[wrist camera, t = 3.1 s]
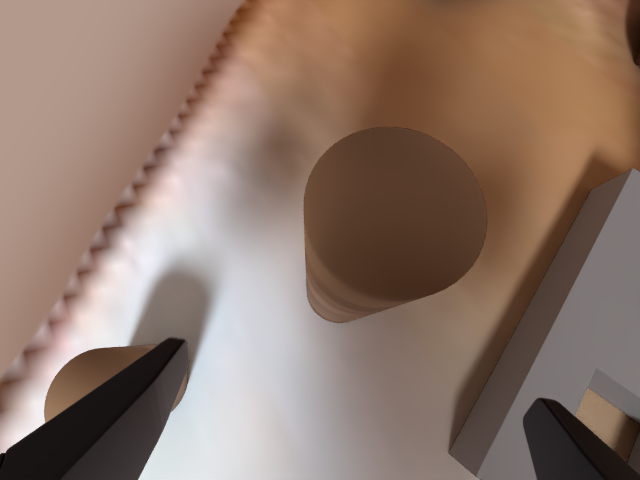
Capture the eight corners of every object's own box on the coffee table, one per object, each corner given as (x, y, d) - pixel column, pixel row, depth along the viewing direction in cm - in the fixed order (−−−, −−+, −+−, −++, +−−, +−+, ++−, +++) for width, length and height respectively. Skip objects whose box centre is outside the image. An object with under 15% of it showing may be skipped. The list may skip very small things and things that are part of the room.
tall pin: (324, 334, 19) (357, 334, 6) (296, 274, 20) (273, 166, 7) (382, 304, 20) (523, 248, 7) (352, 248, 21) (425, 103, 8)
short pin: (126, 435, 17) (57, 474, 13) (106, 364, 18) (34, 375, 13) (197, 399, 18) (157, 423, 13) (174, 332, 19) (128, 331, 14)
